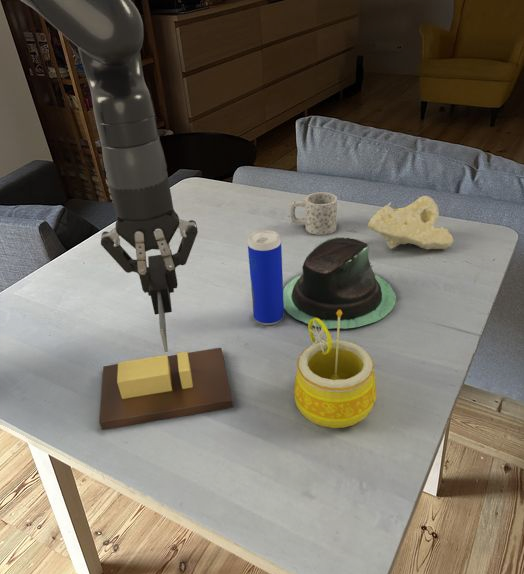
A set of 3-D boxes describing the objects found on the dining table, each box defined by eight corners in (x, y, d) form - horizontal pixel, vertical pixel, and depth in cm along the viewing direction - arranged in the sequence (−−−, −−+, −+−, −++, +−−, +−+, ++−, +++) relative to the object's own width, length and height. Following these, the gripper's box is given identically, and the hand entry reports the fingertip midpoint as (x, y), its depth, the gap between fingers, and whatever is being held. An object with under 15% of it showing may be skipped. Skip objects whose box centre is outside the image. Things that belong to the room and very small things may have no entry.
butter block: (122, 399, 75) (117, 382, 73) (122, 379, 78) (117, 362, 76) (172, 390, 75) (168, 373, 73) (170, 371, 79) (167, 354, 77)
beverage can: (261, 306, 93) (256, 227, 84) (288, 312, 92) (286, 232, 82) (248, 322, 90) (241, 241, 81) (276, 329, 88) (272, 247, 79)
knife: (152, 279, 83) (147, 256, 80) (168, 277, 83) (164, 253, 80) (156, 353, 68) (150, 328, 65) (175, 350, 68) (170, 325, 66)
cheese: (445, 241, 112) (395, 190, 111) (467, 227, 105) (414, 172, 104) (403, 289, 108) (351, 235, 107) (424, 277, 101) (368, 220, 100)
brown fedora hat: (307, 254, 105) (408, 274, 98) (274, 337, 99) (380, 364, 93) (293, 206, 92) (410, 224, 85) (255, 299, 86) (377, 327, 79)
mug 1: (338, 221, 118) (339, 192, 114) (334, 235, 113) (335, 205, 109) (293, 219, 120) (292, 191, 116) (287, 233, 115) (286, 203, 111)
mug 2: (374, 438, 68) (382, 366, 61) (289, 430, 70) (287, 359, 63) (375, 373, 78) (382, 304, 71) (301, 367, 80) (300, 300, 73)
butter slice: (182, 389, 75) (178, 372, 73) (180, 369, 79) (176, 352, 77) (192, 387, 76) (189, 370, 74) (190, 368, 79) (187, 351, 77)
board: (101, 430, 72) (98, 422, 71) (105, 373, 81) (103, 366, 81) (233, 407, 74) (232, 399, 73) (222, 354, 83) (221, 347, 83)
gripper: (79, 193, 64) (112, 312, 75) (194, 179, 66) (211, 297, 76) (84, 172, 70) (114, 285, 81) (189, 159, 72) (205, 272, 82)
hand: (161, 290), depth 79 cm, fingers closed on knife, 2 cm apart
